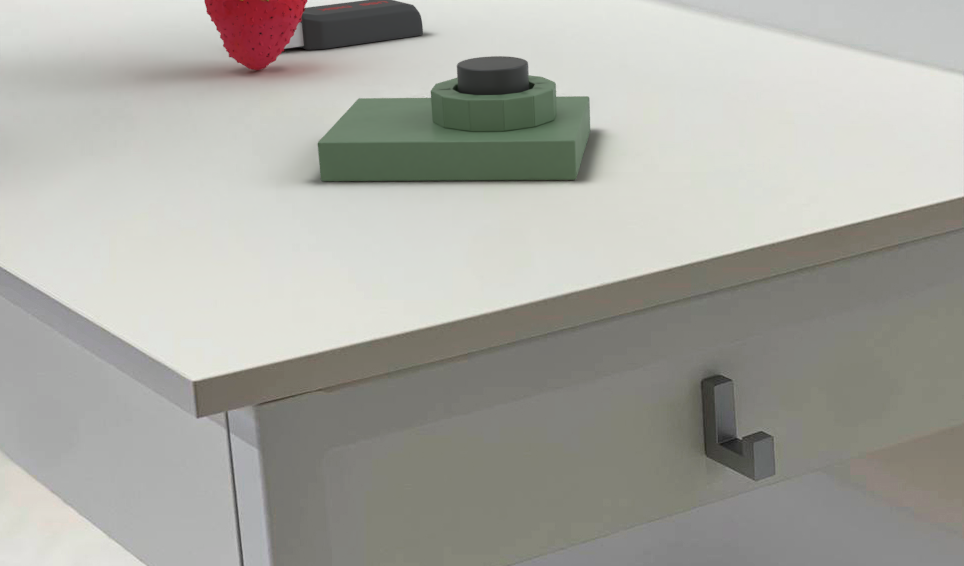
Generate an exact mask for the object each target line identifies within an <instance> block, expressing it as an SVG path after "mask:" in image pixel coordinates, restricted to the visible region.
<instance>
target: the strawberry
mask: <svg viewBox="0 0 964 566" xmlns="http://www.w3.org/2000/svg"><path fill="white" fill-rule="evenodd" d="M306 4H308V0H204V5H205V9H206V14H207V15H208V16H209V17H210V22H213V24H214V25H215V27H216V28H215V29H216V31H217V32H218V33H219V34H220V35H219V36H220V37H219V38H220V39H221V40H222V42H223V45H222V47H223V48H224V49H225V51H226V52H227V53H228V58H231V59H233V60H234V61H236V63H237V64H241V65H243V66H244V67H245V68H247V69H249V70H251V71H253V70H254V71H261V70H264V69H266V68H267V67H268V66H270V64H272V63H274V62H276V61H277V58H278V57H279V56H281V54H282V52H285V49H284V48H285V46H286V45H287V44H288V43H290V38H291V37H292V36H293V35H294V32H295V30H296V29H297V28H296V27H297V25H298V23H299V22H301V21H302V20H301V17H302V14H303V12H304V11H305V9H304V8H306Z"/></svg>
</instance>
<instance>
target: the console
mask: <svg viewBox="0 0 964 566" xmlns="http://www.w3.org/2000/svg"><path fill="white" fill-rule="evenodd" d="M590 133H591V102H590V96H587V95H586V96H585V95H583V96H572V95H571V96H570V95H569V96H557V83H556V82H555V81H553V80H550V79H548V78H546V77H543V76H538V75H529V90H526V91H523V92H520V93H512V94H504V95H471V94H463V93H459V92H458V78H457V77H454V78H451V79H447V80H443V81H440V82H438V83H435V84H434V85H433V87H432V88H431V89H430V97H371V98H369V97H366V98H365V97H364V98H363V97H362V98H361V97H359V98H358V99H356V100H355V102H354V103H353V104H352V105H351V106H350V107H349V108H348V109H347V110H346V112H344V114H342V116H341V117H340V118H339V119H338V120H337V121H336V122H335V123H334V124H333V125H332V127H331V128H330V129H329V130H328V131H327V132H326V133H325V134H324V135H323V136H322V137H321V138H320V139H319V140H318V141H317V153H318V164H319V176H320V181H321V182H417V181H419V182H423V181H424V182H425V181H427V182H428V181H429V182H433V181H434V182H436V181H439V182H440V181H441V182H442V181H443V182H444V181H575V180H577V179H578V175H579V171H580V167H581V165H582V161H583V157H584V154H585V151H586V148H587V145H588V141H589V137H590Z"/></svg>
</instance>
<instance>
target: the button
mask: <svg viewBox="0 0 964 566" xmlns="http://www.w3.org/2000/svg"><path fill="white" fill-rule="evenodd" d="M456 74H457V75H456V76H457V77H456V78H458V92H459V93H463V94H471V95H504V94H512V93H520V92H523V91H526V90H529V61H527V60H526V59H524V58H521V57H515V56H504V55H503V56H500V55H498V56H497V55H495V56H493V55H491V56H479V57H473V58H472V57H471V58H467V59H464V60H462V61H458V63H457V64H456Z"/></svg>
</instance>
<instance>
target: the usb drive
mask: <svg viewBox="0 0 964 566" xmlns="http://www.w3.org/2000/svg"><path fill="white" fill-rule="evenodd" d="M304 9H305V11H304V12H303V14H302V17H301V20H302V21H301V22H299V23H298V25H297V27H296V28H297V29H296V30H295V32H294V35H293V36H292V37H291V38H290V43H288V44H287V45H286V46H285V48H284V50H286V49H294V48H299V49H304V50H306V51H310V50H312V51H313V50H326V49H334V48H342V47H347V46H348V47H349V46H356V45H363V44H369V43H376V42H384V41H391V40H396V39H397V40H398V39H404V38H410V37H411V38H413V37H418V36H422V35H424V27H423V20H422V15H421V13H420V11H419V9H417V7H416V6H415V5H414V4H411V3H407V2H403V1H398V0H355V1H348V2H341V3H332V4H331V3H330V4H325V5H317V6H309V7H305V8H304Z"/></svg>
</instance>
